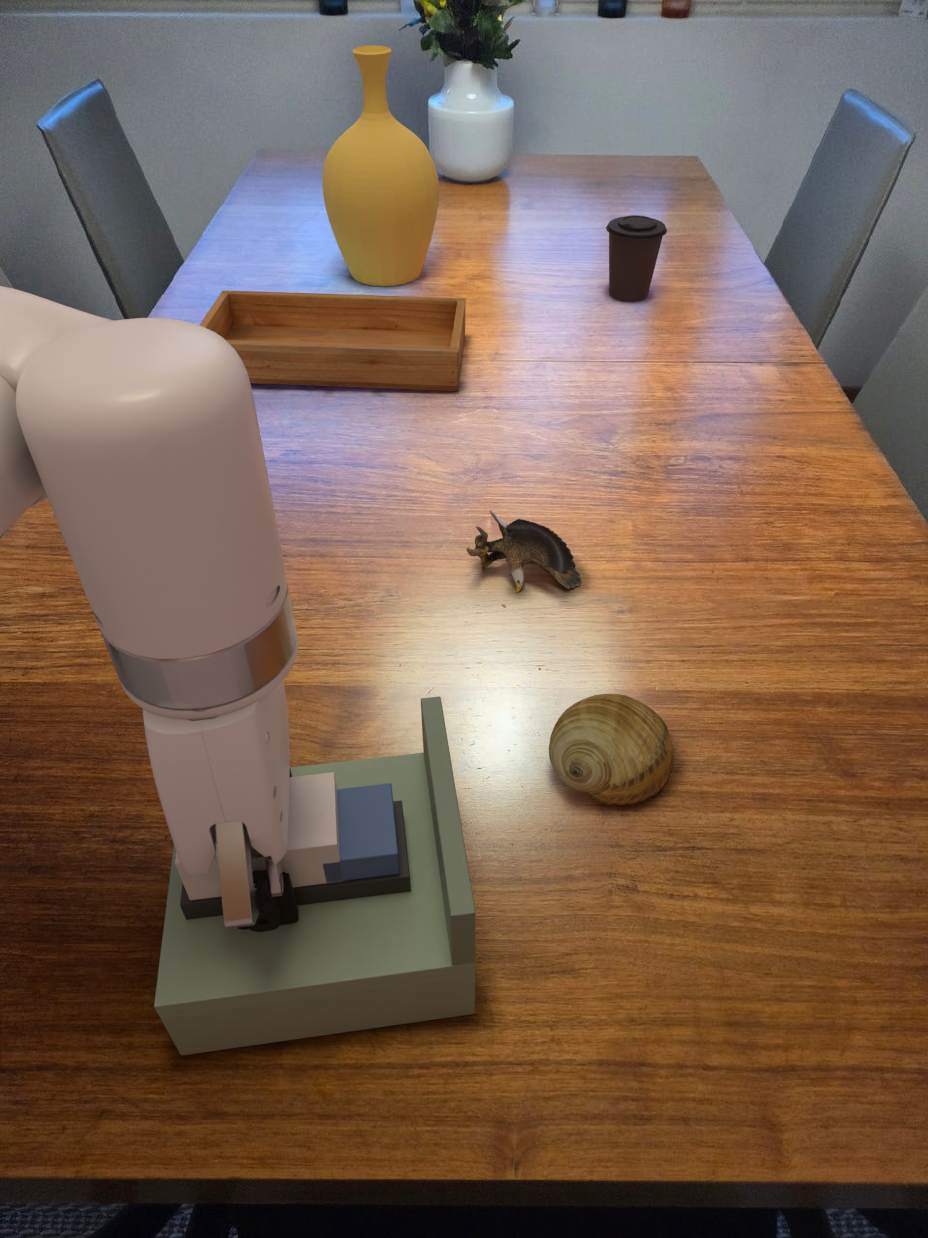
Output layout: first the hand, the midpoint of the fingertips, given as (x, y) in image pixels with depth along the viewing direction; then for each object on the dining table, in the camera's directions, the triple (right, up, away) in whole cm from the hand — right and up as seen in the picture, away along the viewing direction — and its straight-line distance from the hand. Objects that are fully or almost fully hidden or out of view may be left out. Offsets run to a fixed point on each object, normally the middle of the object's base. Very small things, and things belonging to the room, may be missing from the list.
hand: (269, 864), depth 48 cm
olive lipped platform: (+2, -4, +5) cm, 7 cm away
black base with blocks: (+2, 0, 0) cm, 2 cm away
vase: (-1, +64, +80) cm, 103 cm away
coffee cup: (+34, +59, +74) cm, 101 cm away
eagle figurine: (+16, +17, +28) cm, 37 cm away
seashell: (+21, +3, +13) cm, 25 cm away
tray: (-5, +45, +59) cm, 75 cm away
